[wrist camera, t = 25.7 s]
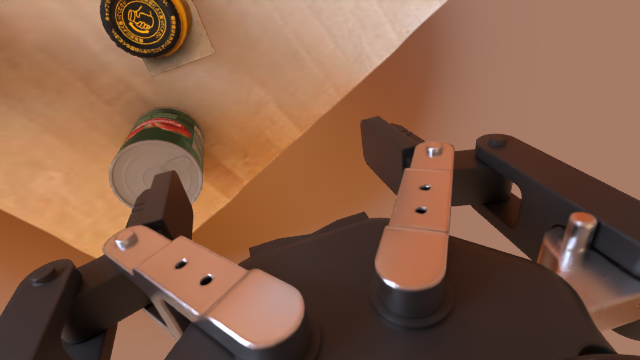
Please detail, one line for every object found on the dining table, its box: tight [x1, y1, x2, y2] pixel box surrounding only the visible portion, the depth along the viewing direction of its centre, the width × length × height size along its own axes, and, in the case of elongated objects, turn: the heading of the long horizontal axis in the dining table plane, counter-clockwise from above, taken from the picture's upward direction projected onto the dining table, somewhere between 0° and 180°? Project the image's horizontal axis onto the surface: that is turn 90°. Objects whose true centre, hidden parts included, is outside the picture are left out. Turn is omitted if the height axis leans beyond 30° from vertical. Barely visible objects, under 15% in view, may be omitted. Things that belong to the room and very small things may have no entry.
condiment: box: [100, 0, 215, 76], centre depth 29 cm, size 7×8×12 cm
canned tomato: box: [109, 107, 204, 209], centre depth 35 cm, size 8×8×11 cm
